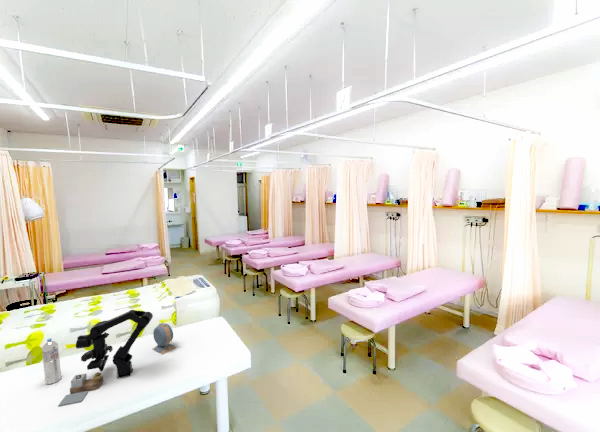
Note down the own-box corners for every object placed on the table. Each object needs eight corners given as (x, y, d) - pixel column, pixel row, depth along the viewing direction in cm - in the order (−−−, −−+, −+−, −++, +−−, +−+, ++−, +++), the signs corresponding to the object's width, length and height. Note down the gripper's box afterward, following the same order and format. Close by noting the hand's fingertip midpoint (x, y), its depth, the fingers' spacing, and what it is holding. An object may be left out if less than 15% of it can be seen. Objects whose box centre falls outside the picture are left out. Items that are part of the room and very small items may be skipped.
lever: (101, 376, 155) (101, 371, 154) (99, 380, 152) (98, 374, 151) (95, 377, 154) (94, 372, 153) (93, 381, 151) (92, 375, 151)
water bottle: (48, 386, 152) (43, 343, 150) (43, 382, 156) (39, 340, 153) (63, 379, 158) (59, 337, 156) (59, 375, 161) (54, 334, 159)
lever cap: (86, 380, 152) (86, 372, 152) (82, 386, 147) (81, 378, 147) (76, 382, 151) (75, 374, 150) (71, 388, 146) (70, 380, 146)
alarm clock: (176, 347, 188) (175, 323, 186) (163, 355, 180) (161, 329, 178) (164, 342, 195) (163, 318, 194) (151, 348, 187) (149, 324, 186)
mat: (88, 391, 147) (88, 390, 147) (81, 401, 140) (81, 400, 140) (66, 396, 145) (66, 394, 144) (58, 406, 137) (58, 405, 137)
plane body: (103, 381, 155) (102, 376, 155) (98, 389, 149) (98, 383, 149) (75, 386, 151) (75, 381, 151) (70, 394, 146) (69, 389, 145)
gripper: (90, 339, 164) (92, 363, 165) (74, 357, 146) (77, 384, 147) (111, 336, 167) (113, 360, 168) (98, 353, 149) (101, 380, 150)
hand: (101, 370), depth 158 cm, fingers closed
